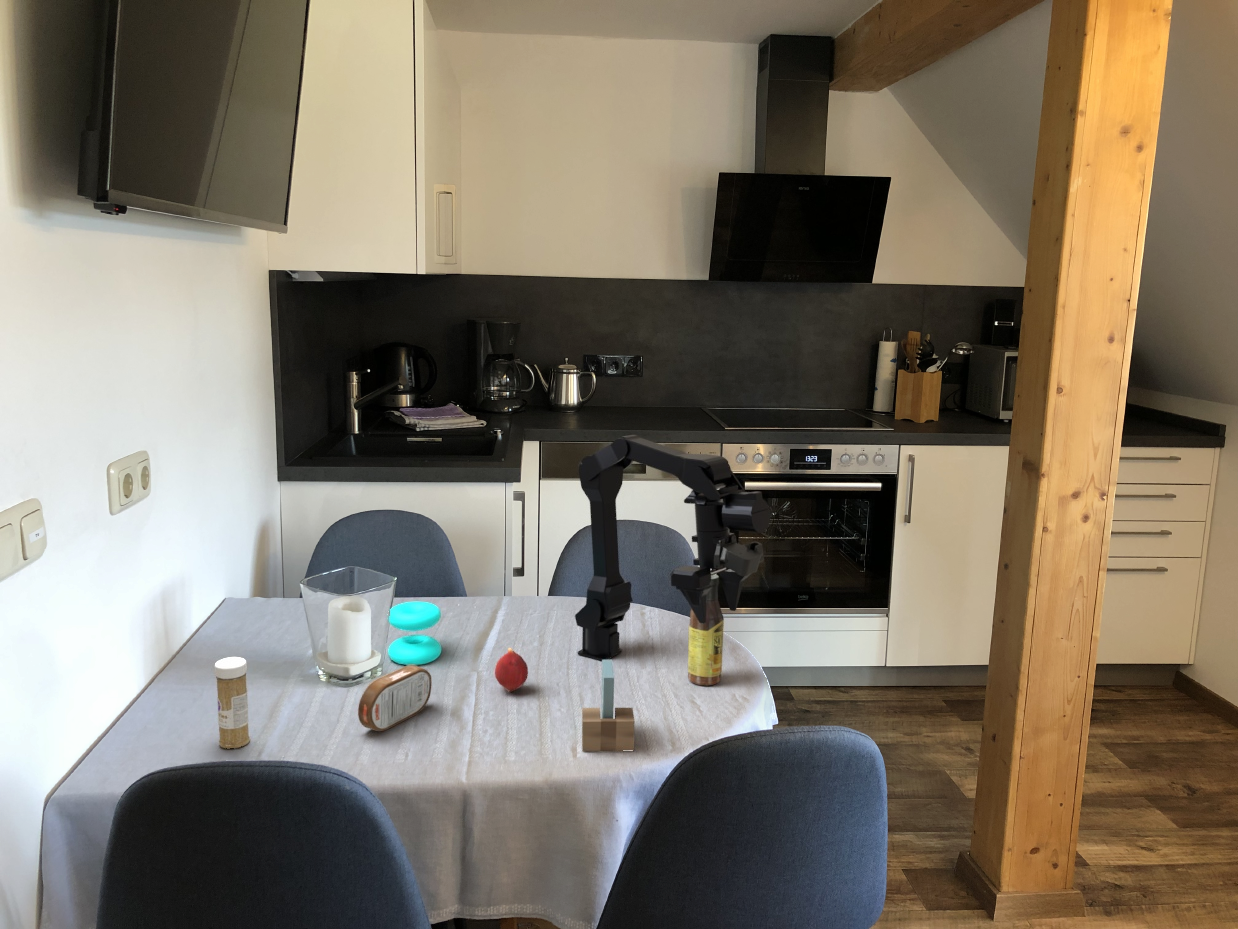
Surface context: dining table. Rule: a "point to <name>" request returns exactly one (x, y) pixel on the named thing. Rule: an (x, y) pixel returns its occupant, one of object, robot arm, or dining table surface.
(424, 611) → the donuts
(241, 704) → the sprinkles bottle
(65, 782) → the dining table surface
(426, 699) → the tin
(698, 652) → the sauce bottle
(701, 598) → the robot arm
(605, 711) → the pale blue slab box
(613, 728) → the clip block
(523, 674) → the onion
